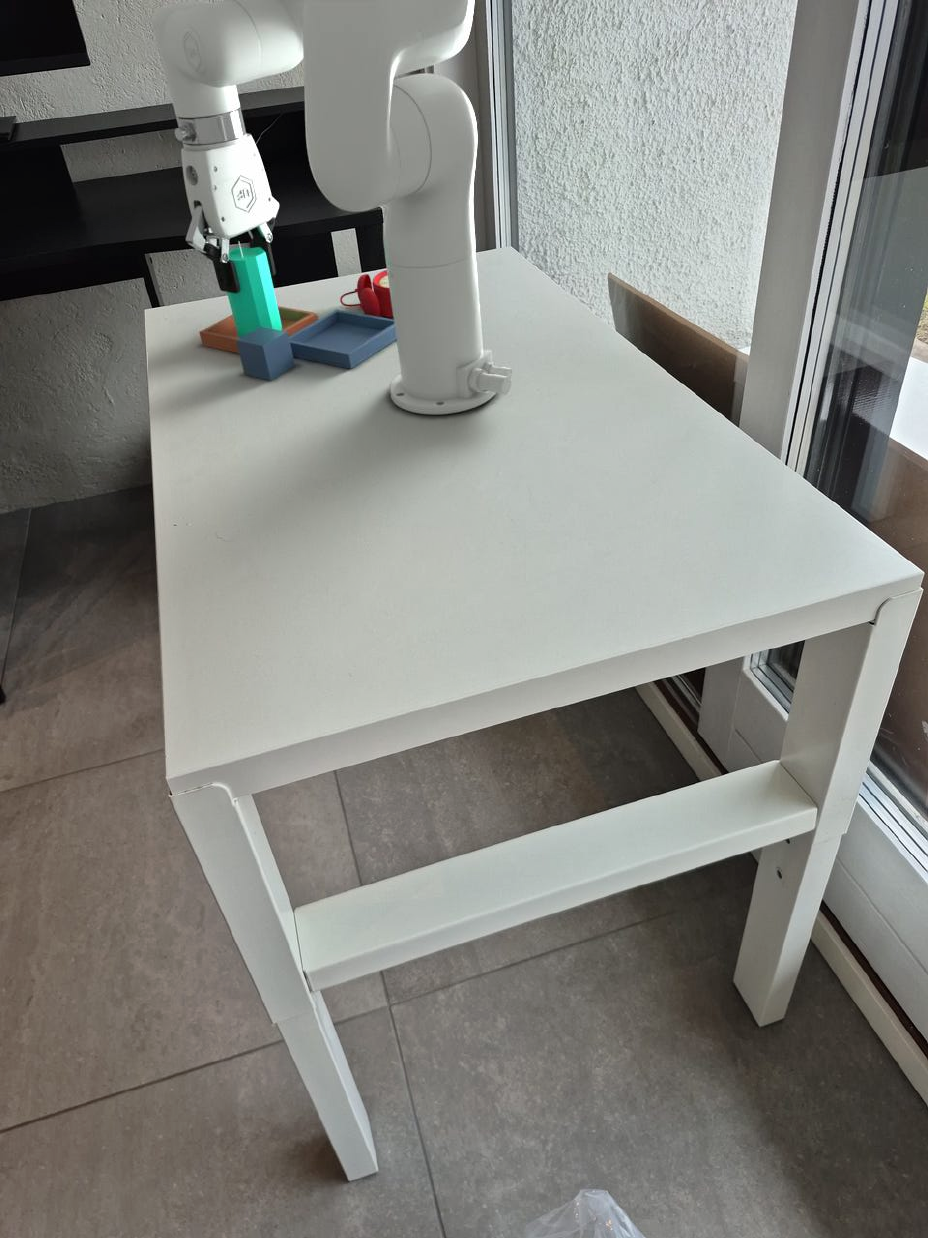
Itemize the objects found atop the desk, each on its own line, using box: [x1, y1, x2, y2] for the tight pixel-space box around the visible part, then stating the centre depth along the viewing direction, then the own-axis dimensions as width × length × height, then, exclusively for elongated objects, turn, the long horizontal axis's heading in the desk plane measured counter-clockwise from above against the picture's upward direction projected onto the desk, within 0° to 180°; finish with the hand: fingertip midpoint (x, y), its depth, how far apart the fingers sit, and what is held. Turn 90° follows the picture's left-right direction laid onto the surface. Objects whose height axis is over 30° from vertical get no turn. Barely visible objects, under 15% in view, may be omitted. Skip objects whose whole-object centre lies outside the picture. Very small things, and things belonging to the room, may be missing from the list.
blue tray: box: [289, 309, 397, 370], centre depth 117 cm, size 11×11×2 cm
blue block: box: [236, 327, 296, 382], centre depth 112 cm, size 4×4×4 cm
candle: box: [226, 240, 282, 338], centre depth 118 cm, size 6×6×12 cm
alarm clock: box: [339, 269, 394, 319], centre depth 124 cm, size 10×6×15 cm
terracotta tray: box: [198, 305, 319, 354], centre depth 122 cm, size 11×11×2 cm
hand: (248, 280), depth 118 cm, fingers closed on candle, 6 cm apart
